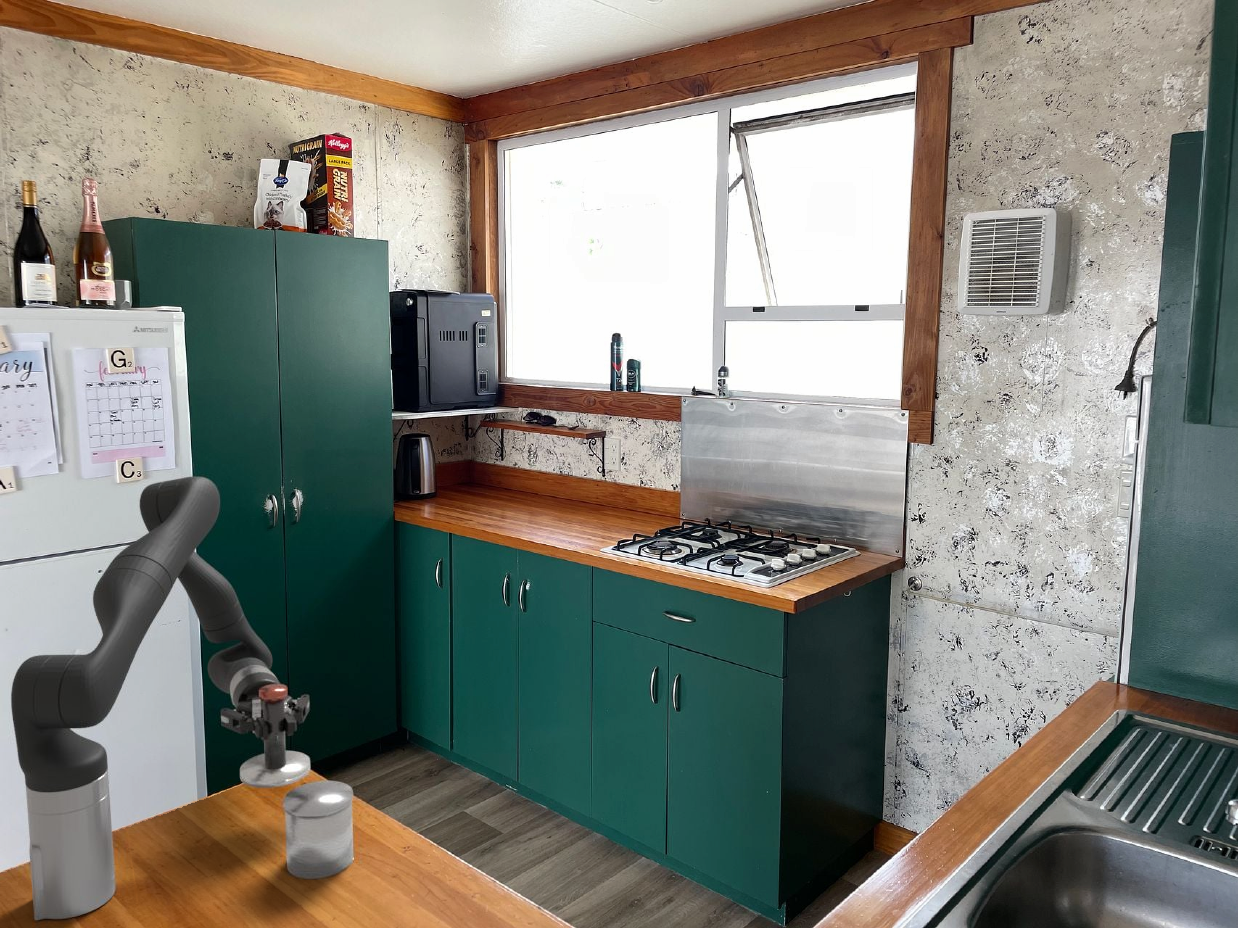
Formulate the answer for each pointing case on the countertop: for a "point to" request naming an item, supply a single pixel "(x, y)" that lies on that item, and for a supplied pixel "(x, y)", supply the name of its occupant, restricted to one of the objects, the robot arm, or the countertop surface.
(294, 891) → the countertop surface
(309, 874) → the pot
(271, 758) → the lid
